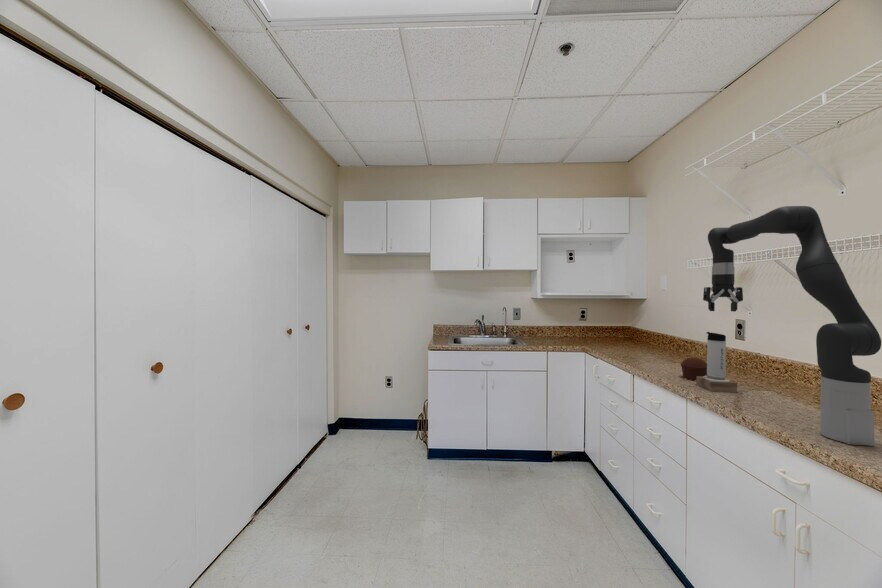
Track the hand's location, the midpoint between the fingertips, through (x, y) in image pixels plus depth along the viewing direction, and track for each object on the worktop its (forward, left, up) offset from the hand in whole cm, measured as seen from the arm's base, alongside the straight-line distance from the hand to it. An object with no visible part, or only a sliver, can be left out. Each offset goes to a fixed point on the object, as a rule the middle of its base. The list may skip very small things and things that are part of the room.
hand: (722, 311), depth 146 cm
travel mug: (+1, +2, -30) cm, 30 cm away
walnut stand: (+1, +2, -34) cm, 34 cm away
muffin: (+18, +1, -34) cm, 39 cm away
